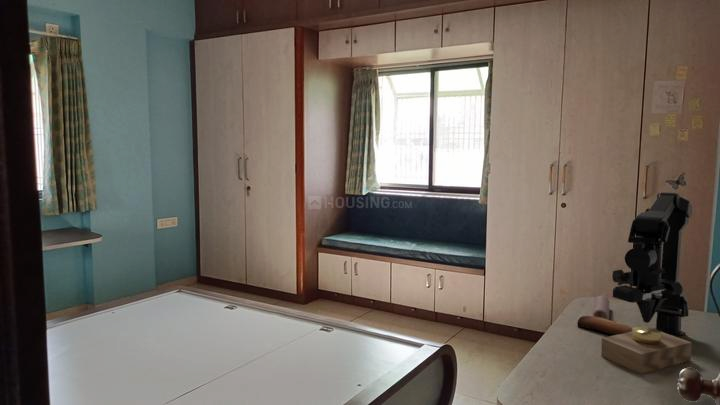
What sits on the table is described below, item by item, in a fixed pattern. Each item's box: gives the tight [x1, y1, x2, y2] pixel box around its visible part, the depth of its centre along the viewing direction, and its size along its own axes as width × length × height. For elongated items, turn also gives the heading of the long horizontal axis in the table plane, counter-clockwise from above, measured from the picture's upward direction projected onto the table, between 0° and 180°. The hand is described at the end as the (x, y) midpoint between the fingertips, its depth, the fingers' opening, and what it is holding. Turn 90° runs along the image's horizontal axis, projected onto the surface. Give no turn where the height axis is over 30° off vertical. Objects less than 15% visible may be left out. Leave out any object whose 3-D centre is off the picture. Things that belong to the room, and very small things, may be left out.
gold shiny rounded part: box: [631, 326, 661, 345], centre depth 134 cm, size 7×7×7 cm
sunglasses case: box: [576, 315, 633, 336], centre depth 153 cm, size 18×7×7 cm
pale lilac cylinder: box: [592, 295, 610, 320], centre depth 169 cm, size 5×5×18 cm
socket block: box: [601, 331, 692, 375], centre depth 134 cm, size 18×12×5 cm, turn 112°
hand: (646, 322), depth 133 cm, fingers closed
